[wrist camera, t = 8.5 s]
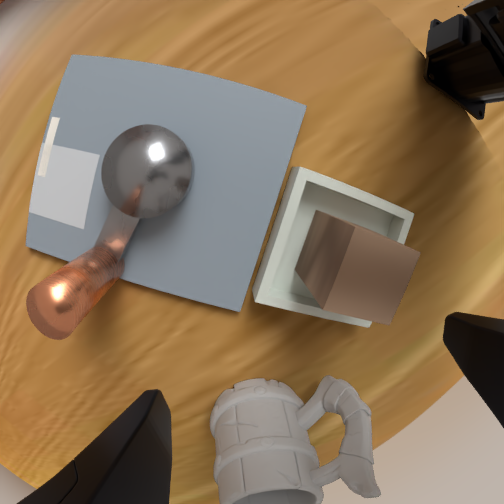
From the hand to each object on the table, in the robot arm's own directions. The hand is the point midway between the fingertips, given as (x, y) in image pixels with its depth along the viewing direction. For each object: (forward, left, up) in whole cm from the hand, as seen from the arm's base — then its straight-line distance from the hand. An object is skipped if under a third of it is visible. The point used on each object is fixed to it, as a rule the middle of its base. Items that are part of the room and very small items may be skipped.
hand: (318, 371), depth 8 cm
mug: (-5, +11, -12) cm, 17 cm away
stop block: (-4, -2, -11) cm, 12 cm away
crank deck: (+8, -3, -12) cm, 15 cm away
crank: (+8, -3, -11) cm, 14 cm away
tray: (-4, -2, -12) cm, 13 cm away
